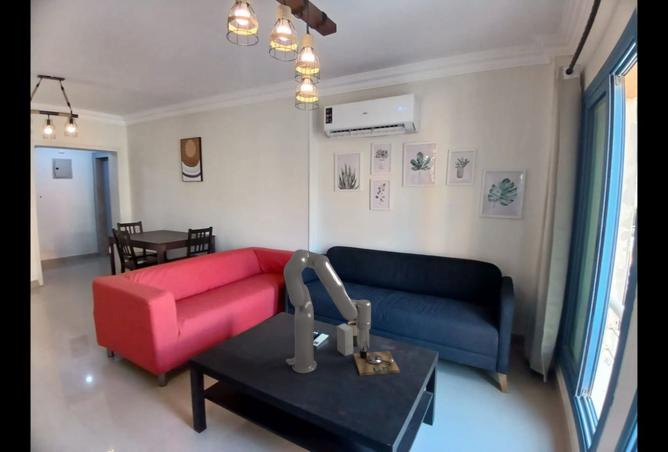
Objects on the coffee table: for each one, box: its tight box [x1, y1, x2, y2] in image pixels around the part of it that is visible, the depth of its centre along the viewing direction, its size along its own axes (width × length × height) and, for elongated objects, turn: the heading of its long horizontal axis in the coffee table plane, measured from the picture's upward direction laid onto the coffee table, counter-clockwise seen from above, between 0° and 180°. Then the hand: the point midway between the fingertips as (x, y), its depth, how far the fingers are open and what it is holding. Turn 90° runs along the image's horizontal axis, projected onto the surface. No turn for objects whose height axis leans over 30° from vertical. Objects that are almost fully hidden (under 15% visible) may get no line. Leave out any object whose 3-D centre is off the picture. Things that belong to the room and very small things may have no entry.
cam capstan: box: [366, 354, 395, 364], centre depth 164 cm, size 18×8×6 cm, turn 65°
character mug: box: [347, 320, 358, 347], centre depth 184 cm, size 11×7×13 cm, turn 75°
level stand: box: [352, 350, 400, 377], centre depth 164 cm, size 20×18×2 cm
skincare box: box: [336, 323, 354, 357], centre depth 176 cm, size 8×6×15 cm
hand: (363, 357), depth 164 cm, fingers closed
